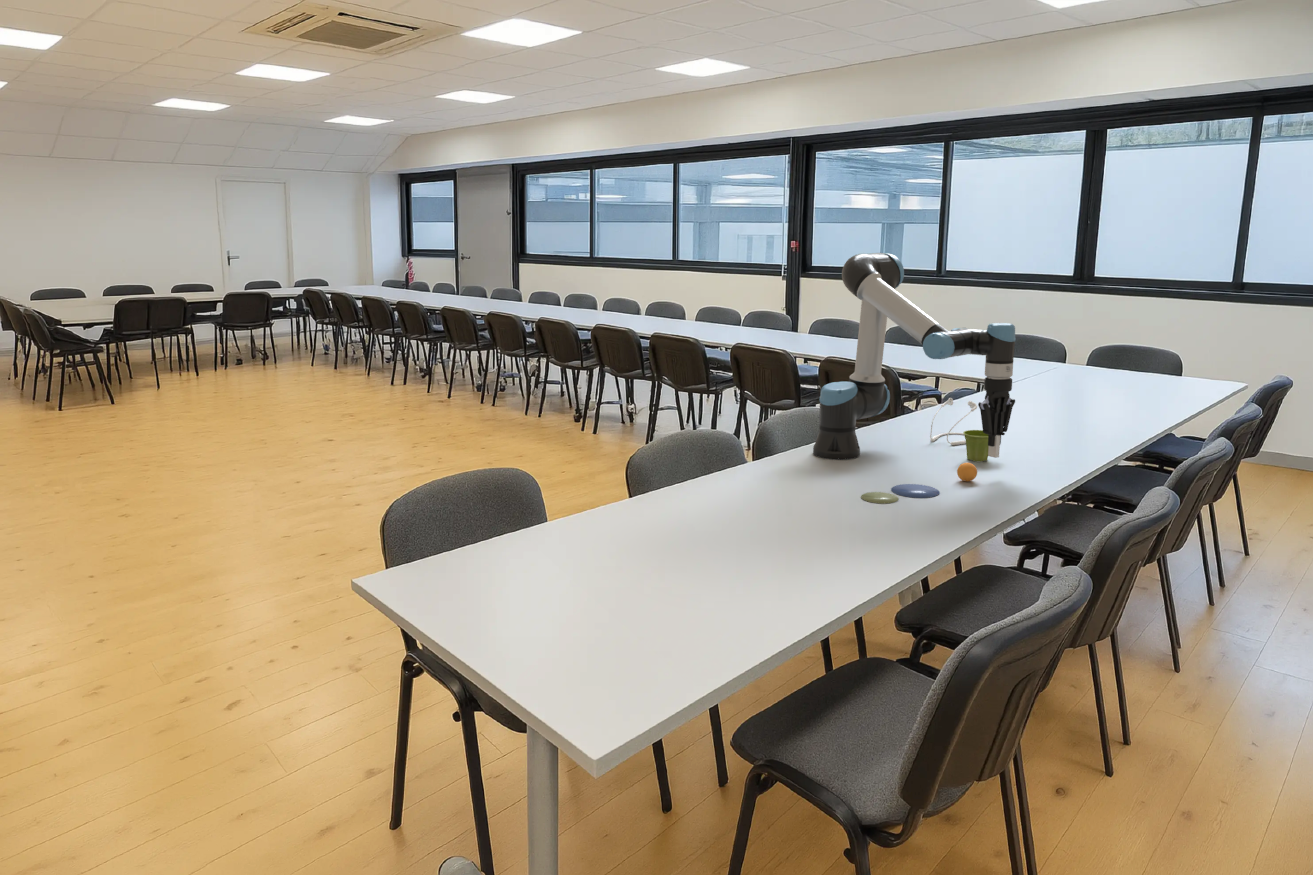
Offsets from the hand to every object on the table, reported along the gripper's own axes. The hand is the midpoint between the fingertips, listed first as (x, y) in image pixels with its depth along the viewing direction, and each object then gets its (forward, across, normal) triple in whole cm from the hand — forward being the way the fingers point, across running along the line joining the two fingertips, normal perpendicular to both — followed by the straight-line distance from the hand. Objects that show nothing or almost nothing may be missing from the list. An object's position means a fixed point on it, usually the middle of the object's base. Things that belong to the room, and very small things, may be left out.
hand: (993, 456), depth 251 cm
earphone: (+6, +26, +40) cm, 48 cm away
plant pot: (+6, +12, +16) cm, 21 cm away
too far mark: (+6, -43, 0) cm, 44 cm away
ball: (+3, -10, 0) cm, 11 cm away
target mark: (+6, -30, 0) cm, 31 cm away
